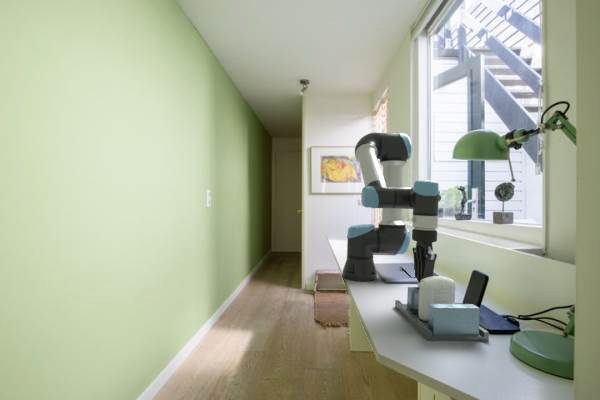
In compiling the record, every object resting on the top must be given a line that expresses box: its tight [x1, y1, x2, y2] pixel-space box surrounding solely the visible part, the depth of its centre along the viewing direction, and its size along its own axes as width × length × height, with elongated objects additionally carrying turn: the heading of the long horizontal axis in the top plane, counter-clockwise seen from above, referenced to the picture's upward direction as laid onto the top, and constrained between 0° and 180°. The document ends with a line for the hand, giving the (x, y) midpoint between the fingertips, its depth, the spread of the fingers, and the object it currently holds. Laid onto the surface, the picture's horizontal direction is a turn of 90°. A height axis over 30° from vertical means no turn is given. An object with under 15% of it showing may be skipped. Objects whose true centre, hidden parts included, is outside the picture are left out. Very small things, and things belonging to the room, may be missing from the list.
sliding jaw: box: [406, 286, 419, 313], centre depth 99 cm, size 3×12×7 cm, turn 93°
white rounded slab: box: [418, 275, 456, 321], centre depth 93 cm, size 10×4×12 cm, turn 100°
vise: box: [394, 299, 490, 342], centre depth 93 cm, size 24×16×8 cm, turn 3°
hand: (422, 301), depth 103 cm, fingers closed
